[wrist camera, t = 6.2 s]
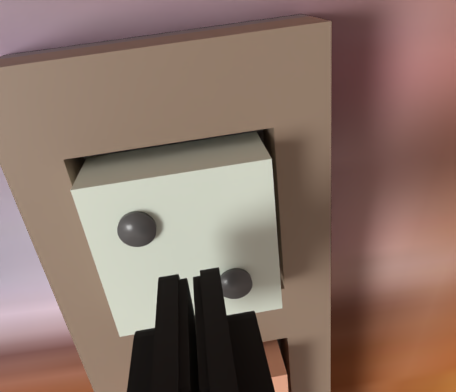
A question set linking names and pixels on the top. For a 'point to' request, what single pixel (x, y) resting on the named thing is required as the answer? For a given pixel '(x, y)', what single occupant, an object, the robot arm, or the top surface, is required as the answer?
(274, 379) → the tile three
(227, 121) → the tile panel
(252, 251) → the tile two
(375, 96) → the top surface
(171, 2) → the top surface
